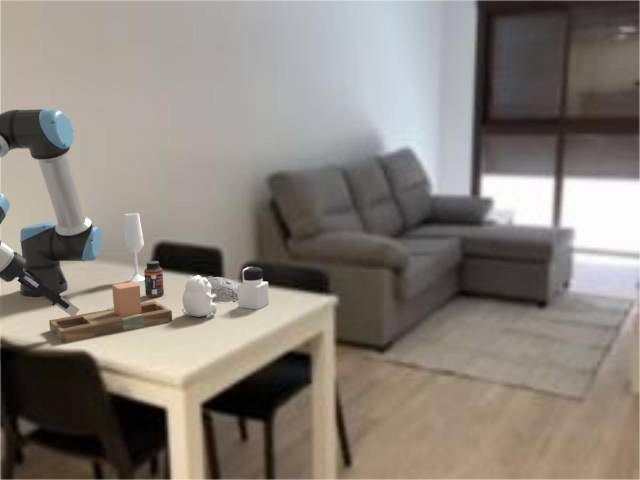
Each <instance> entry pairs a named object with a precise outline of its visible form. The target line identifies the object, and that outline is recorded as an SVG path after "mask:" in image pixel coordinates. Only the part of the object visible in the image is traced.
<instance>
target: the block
mask: <svg viewBox="0 0 640 480" xmlns="http://www.w3.org/2000/svg"><path fill="white" fill-rule="evenodd" d="M111 288H112V298H113V299H112V301H113V308H114V312H116V313H117V314H118V315H120V316H126V315H131V314H137V313H142V312H141V304H142V301H141V286H140V285H139V284H138V283H137V282H130V281H128V282H121V283H116V284H112V285H111Z"/></svg>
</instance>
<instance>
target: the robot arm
mask: <svg viewBox="0 0 640 480" xmlns="http://www.w3.org/2000/svg"><path fill="white" fill-rule="evenodd" d="M73 128H74V127H73V124H72V122H71V120H70V117H68V115H67V114H66V113H65V112H63V111H62V110H59V109H53V108H52V109H50V108H41V109H11V110H7V111H4V112H2V113H0V158H4V157H5V156H7V154H8V153H9V151H12V150H17V149H20V150H21V149H25V150H26V149H28V150H29V153H30V156H31V158H32V159H33V160H36V161H38V164H39V168H40V170H41V173H42V176H43V179H44V183H45V186H46V190H47V192H48V195H49V199H50V201H51V204H52V208H53V211H54V215H55V217H56V220H57V223H56V222H55V221H47V222H42V223H36V224H32V225H27V226H24V227H23V228H21V229H20V233H19V235H20V237H19V239H20V246H21V247H20V249H21V254H20V253H18V252H17V251H14V249H13V248H12V247H11V246H9V245H8V244H7V243H5V242H4V241H2V240H0V279H2V280H3V281H4V282H6V283H10V282H12V281H14V280H15V279H17V278H18V279H17V282H18V283H20V285H19V292H20V295H23V296H27V297H41V296H43V297H45V299H47V300H49V301H50V302H51V306H53V307H54V306H56V307H58V308H59V309H61V310H63V311H64V312H65V313H67V314H68V315H69V316H72V317H74V316H75V315H78V313H79V311H80V310H81V308H78V307H77V306H76V305H74V304H73V303H71V301H69V300H67V299H66V298H65V297H63V296H62V295H61V293H62V292H65V291H66V290H68V281H67V279H66V276H65V273H64V271H63V270H62V268H61V262H87V261H88V262H93V261H95V260H96V259H97V258H98V257H99V256H100V253H101V251H102V247H103V233H102V228H100V227H99V226H96V225H93V223H92V220H91V218H90V217H88V216H86V215H85V212H84V208H83V205H82V202H81V199H80V195H79V192H78V188H77V185H76V181H75V178H74V174H73V172H72V167H71V165H70V161H69V158H68V157H69V156H68V153H69V152H70V151H71V146H72V145H73V144H74V139H75V138H74V129H73ZM10 204H11V203H10V201H9V199H8V197H6V196H5V194H3V193H1V192H0V225H1V223H2V222H3V221H4V219H6V216H7V214H8V211H9V210H10V206H11V205H10Z"/></svg>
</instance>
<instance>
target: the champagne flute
mask: <svg viewBox="0 0 640 480" xmlns="http://www.w3.org/2000/svg"><path fill="white" fill-rule="evenodd" d="M140 216H141V215H140V213H139V212H130V213H126V214H125V218H124V219H125V220H124V222H125V223H124V247H125V248H126V249H127V251H129V252H130V253H132V254H133V264H134V265H133V266H134V267H133V268H134V275H132V276H131V277H129V278H128V279H126V280H127V281H128V282H134V283H137V282H143V281H144V282H145V276H142V275H141V274H139V266H138V253H140V251H142V249H143V247H144V245H145V241H144V234H143V230H142V224H141V218H140Z"/></svg>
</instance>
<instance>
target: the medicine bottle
mask: <svg viewBox="0 0 640 480" xmlns="http://www.w3.org/2000/svg"><path fill="white" fill-rule="evenodd" d="M238 284H239V285H238V286H237V288H238V290H237V291H238V302H237V306H238V308H241V309H249V310H250V309H251V310H259V309H261V308H264V307H265V306H267V305H268V304H270V300H269V297H270V296H269V295H270V293H269V281H264V279H263V269H262V267H258V266H247V267H246V268H243V269H242V283H238Z"/></svg>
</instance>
